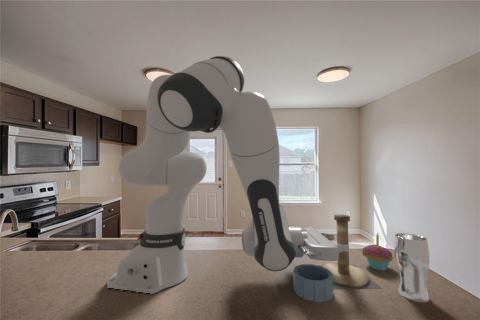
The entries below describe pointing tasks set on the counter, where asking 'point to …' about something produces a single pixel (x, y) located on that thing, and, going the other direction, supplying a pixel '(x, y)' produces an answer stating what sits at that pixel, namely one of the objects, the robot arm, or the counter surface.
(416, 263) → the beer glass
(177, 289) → the counter surface
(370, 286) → the mat
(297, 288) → the bowl
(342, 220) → the brown piece
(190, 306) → the counter surface
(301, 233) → the robot arm
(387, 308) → the counter surface
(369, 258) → the cupcake
